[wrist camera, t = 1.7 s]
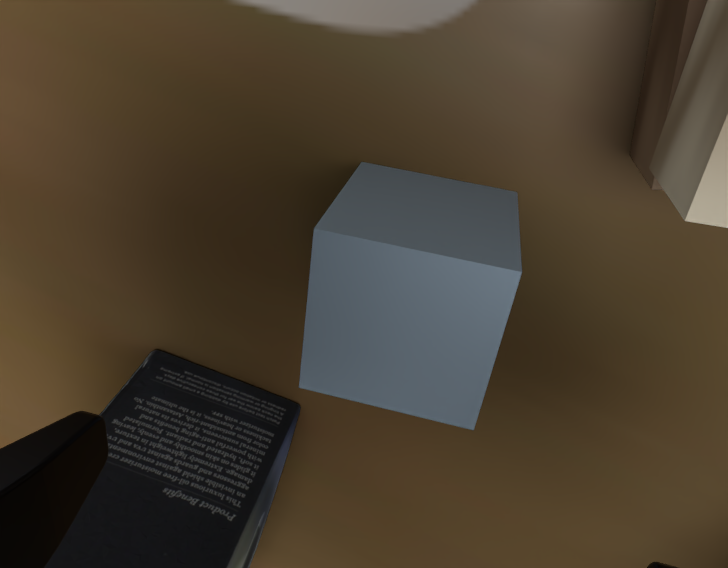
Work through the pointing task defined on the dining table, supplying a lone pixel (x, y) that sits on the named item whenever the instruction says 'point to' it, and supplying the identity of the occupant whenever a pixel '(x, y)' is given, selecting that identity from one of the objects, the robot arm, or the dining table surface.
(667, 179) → the tower mid
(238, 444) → the small box
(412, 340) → the blue cube
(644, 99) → the tower base
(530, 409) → the dining table surface
